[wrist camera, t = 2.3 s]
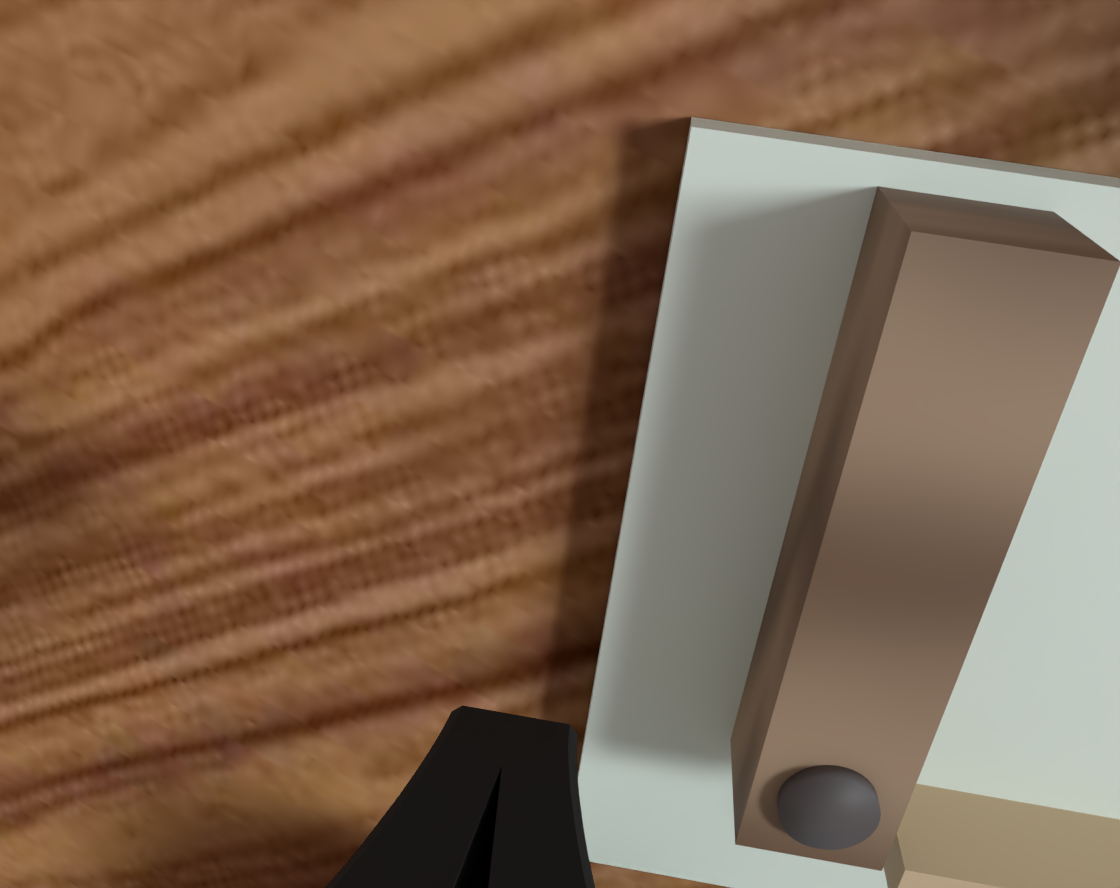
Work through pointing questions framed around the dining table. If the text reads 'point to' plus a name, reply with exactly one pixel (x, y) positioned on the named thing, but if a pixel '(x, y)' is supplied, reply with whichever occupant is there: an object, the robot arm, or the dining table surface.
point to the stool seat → (761, 521)
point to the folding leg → (906, 510)
